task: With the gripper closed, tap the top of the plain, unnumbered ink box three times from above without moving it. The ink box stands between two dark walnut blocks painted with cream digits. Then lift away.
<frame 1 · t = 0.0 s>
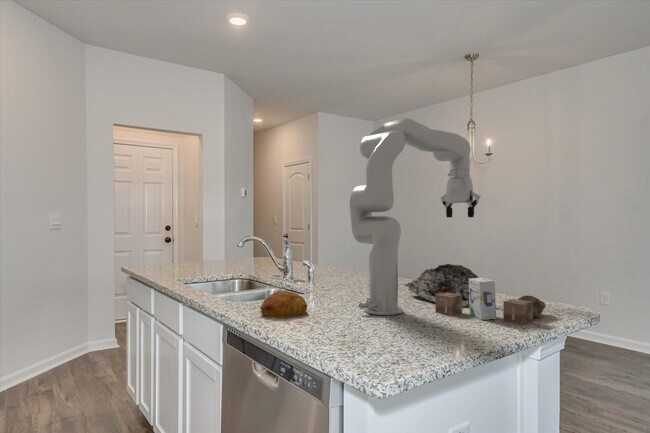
hand: (459, 217, 167), 31 cm above the worktop, fingers open, 9 cm apart
walnut 7 block: (448, 313, 136), on the worktop
bark piece: (437, 300, 157), on the worktop
croissant: (282, 314, 137), on the worktop
walnut 1 block: (518, 321, 125), on the worktop
stone: (526, 316, 132), on the worktop
ink box: (481, 317, 130), on the worktop
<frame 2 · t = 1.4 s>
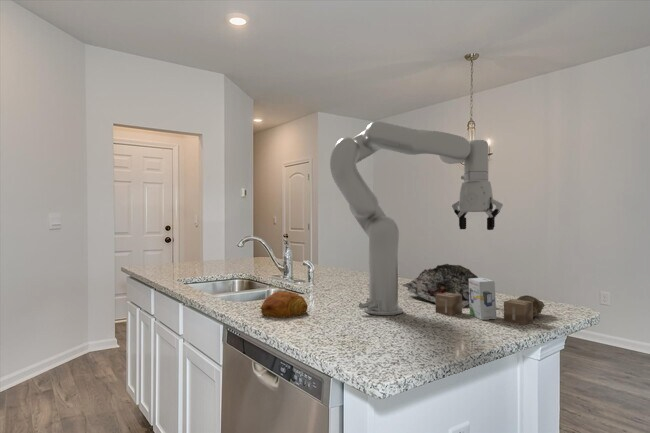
hand: (476, 229, 138), 27 cm above the worktop, fingers open, 9 cm apart
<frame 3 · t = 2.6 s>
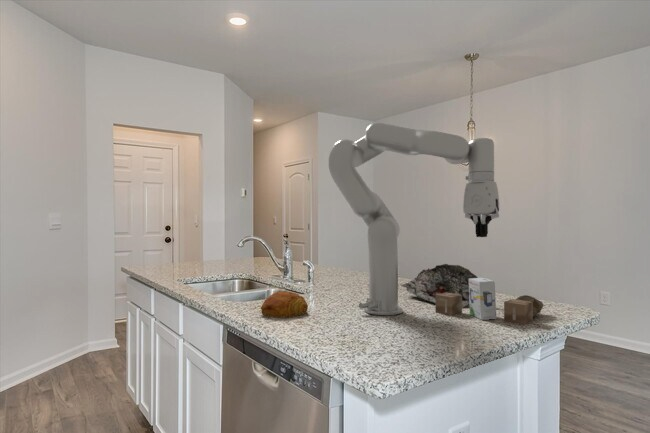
hand: (481, 236, 131), 25 cm above the worktop, fingers closed
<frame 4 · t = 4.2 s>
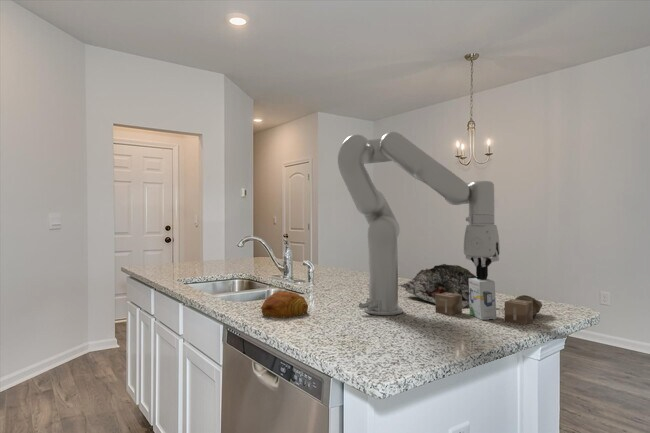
hand: (482, 279, 131), 12 cm above the worktop, fingers closed
ink box: (481, 317, 130), on the worktop, touching gripper
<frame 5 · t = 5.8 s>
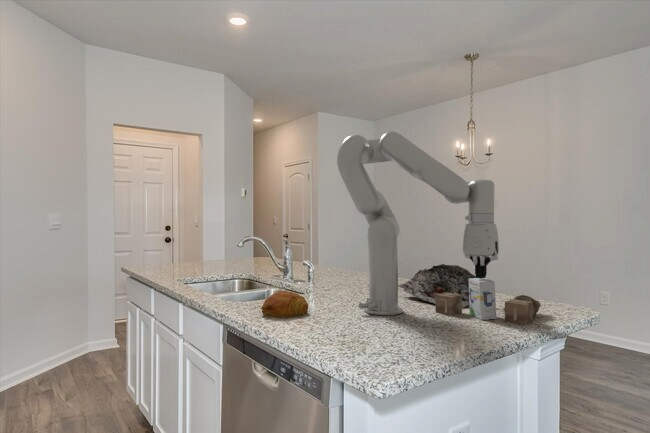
hand: (480, 277, 131), 12 cm above the worktop, fingers closed
ink box: (481, 317, 130), on the worktop
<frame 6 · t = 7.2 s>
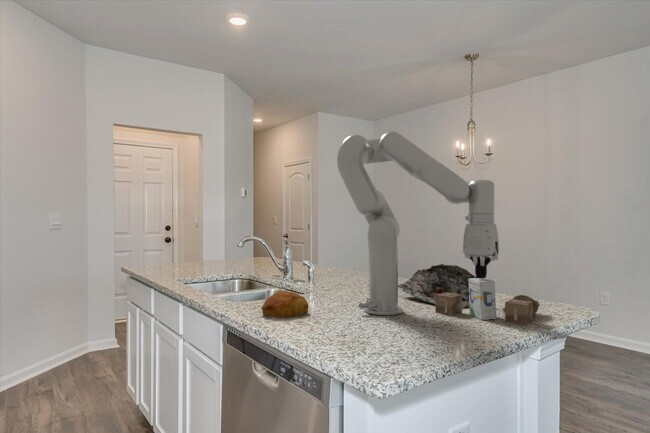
hand: (480, 278, 131), 12 cm above the worktop, fingers closed
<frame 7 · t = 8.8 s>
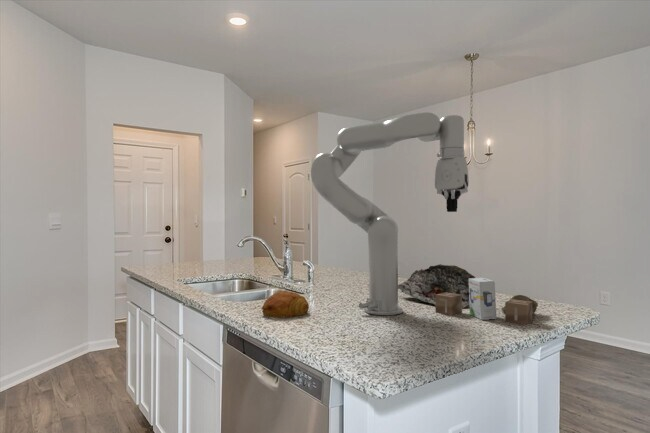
hand: (451, 211, 134), 33 cm above the worktop, fingers closed
walnut 1 block: (518, 322, 124), on the worktop, touching stone
stone: (519, 316, 133), on the worktop, touching walnut 1 block
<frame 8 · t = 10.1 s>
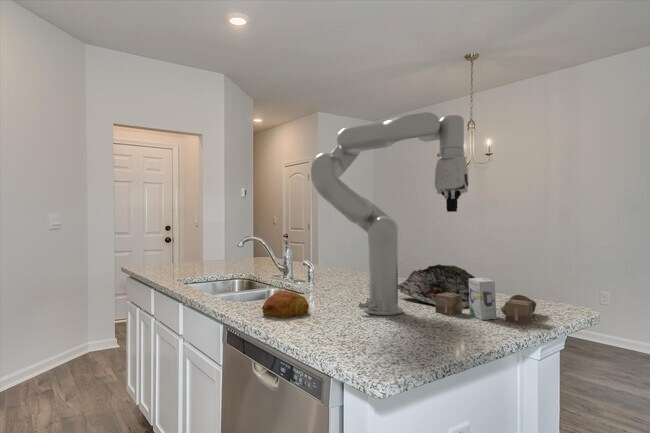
hand: (451, 211, 134), 33 cm above the worktop, fingers closed
walnut 1 block: (518, 322, 124), on the worktop
stone: (518, 315, 133), on the worktop
at the end: ink box moved 0.2 cm from its start; ink box tilted 0°; walnut 1 block moved 0.5 cm from its start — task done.
